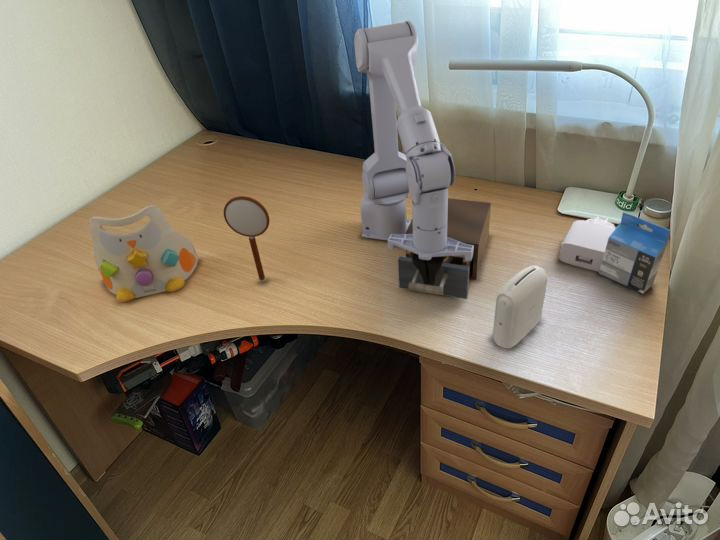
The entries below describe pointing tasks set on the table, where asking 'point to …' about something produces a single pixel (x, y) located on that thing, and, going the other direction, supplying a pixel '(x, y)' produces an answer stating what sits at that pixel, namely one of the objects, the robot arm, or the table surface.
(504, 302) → the photo printer
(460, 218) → the cabinet
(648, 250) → the label tape box
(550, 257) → the table surface
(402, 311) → the table surface
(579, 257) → the charger
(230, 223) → the magnifying glass
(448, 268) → the drawer
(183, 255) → the shape sorter
